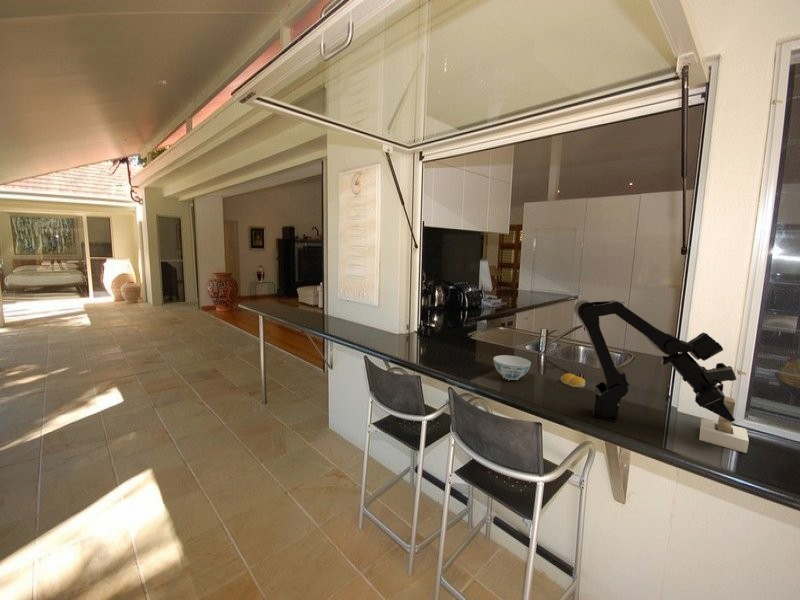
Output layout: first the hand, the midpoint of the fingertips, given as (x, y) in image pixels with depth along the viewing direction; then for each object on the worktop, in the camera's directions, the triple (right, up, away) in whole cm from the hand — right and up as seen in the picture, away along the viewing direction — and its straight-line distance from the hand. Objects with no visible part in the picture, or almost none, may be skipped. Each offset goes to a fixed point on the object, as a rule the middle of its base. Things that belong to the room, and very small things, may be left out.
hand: (732, 415), depth 102 cm
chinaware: (-49, 0, +48) cm, 69 cm away
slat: (-1, -8, +2) cm, 8 cm away
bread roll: (-24, -2, +45) cm, 51 cm away
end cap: (-1, -8, +2) cm, 8 cm away
